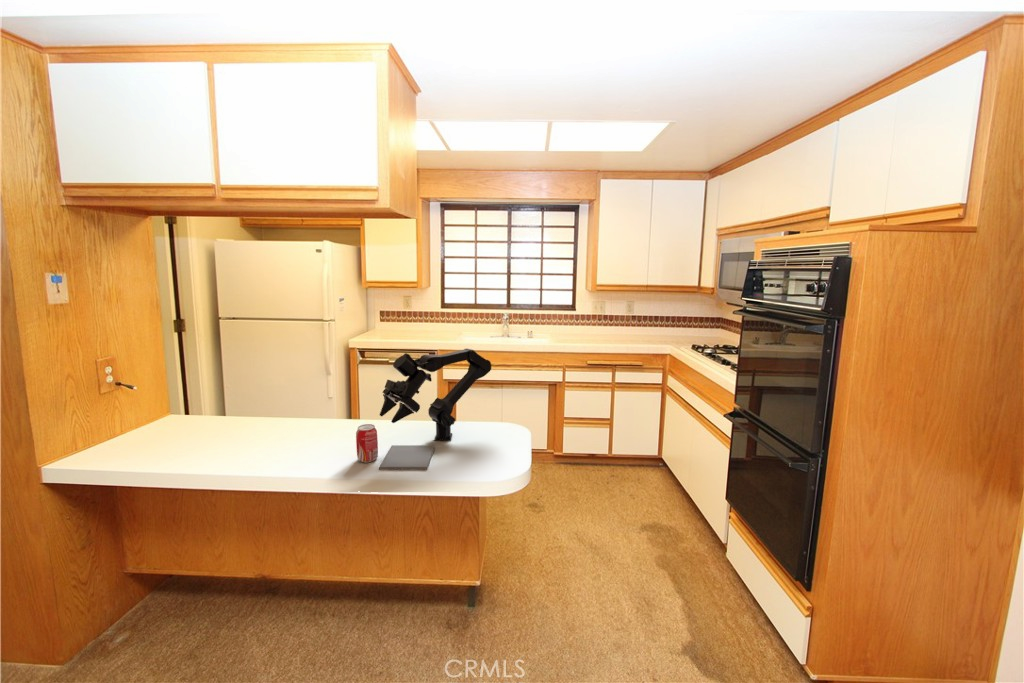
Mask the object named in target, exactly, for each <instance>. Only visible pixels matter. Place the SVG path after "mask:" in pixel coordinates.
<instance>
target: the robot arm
mask: <svg viewBox="0 0 1024 683" xmlns="http://www.w3.org/2000/svg"><path fill="white" fill-rule="evenodd" d="M465 361H467V363H468V364H469V365H468V369H467V372H466V373H465V374H464V375H463V377H461V379H460V380H459V381H458V382H457V383H456V384H455V385H454V386H453V388H452V389H451V390H450V391H449V392H448V393H447V394H446V395H445V397H442V398H439V397H436V398H435V399H434V401H433V402H432V403H430V404H429V405H430V406H429V408H428V410H427V411H428V416H429V418H431V420H432V422H435V436H434V438H433V441H451V440H452V439H453V438H452V437H453V433H452V429H451V427H452V426H453V425H455V421H456V418H455V417H453V415H452V413H453V410H454V407H455V405H456V404H457V403H458V401H459V400H461V398H462V397H463V396H464V395H465V394H466V392H467V391H469V389H470V388H471V387H472V386H473V385H474V384H475V382H476V381H477V380H479V379H482V378H484V377H485V376H487V374H489V373H490V372H491V371H492V362H491V360H489V359H486V358H485V357H483V356H481V355H480V354H478V353H477V352H476V351H475V350H474V349H472V348H464V349H460V350H457V351H452V352H448V353H443V354H422V355H420V357H419V358H416V359H414V358H413V357H411V355H410V354H409V353H406V352H405V353H403V355H401V356H399V357H397V358H396V359H395V360H394V362H393V364H392V366H393V368H394V369H395V370H397V371H398V373H400V374H401V376H403V377H407V378H406V379H405V380H401V381H400V380H396V381H395V380H391V379H387V380H386V382H385V386H384V389H383V390H382V396H383V400H384V401H383V405H382V407H381V409H380V412H379V416H380V417H383V416H385V415H386V414H387V413H389V412H390V411H391V410H392V409H393V408H395V407H396V406H397V405H399V407H398V410H397V411H396V413H395V414H394V416H393V417H392V419H391V421H390V422H391V423H392V424H395V423H397V422H399V421H401V420H403V419H404V418H406V417H408V416H410V415H412V414H415V413H418V412H419V410H421V405H420V404H419V403H418V402H417V401H416V400H415V399H413V397H415V395H416V394H417V395H419V393H420V391H419V390H420V388H421V387H422V385H423V384H424V383H425V382H426V381H427V382H432V381H433V380H432V374H431V373H434V372H436V371H439V370H441V369H442V368H443V367H445V366H447V365H452V364H457V363H461V362H465ZM424 370H425V371H424ZM426 371H427V372H429V373H427V372H426ZM397 403H399V404H397Z"/></svg>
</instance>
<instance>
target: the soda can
mask: <svg viewBox="0 0 1024 683" xmlns="http://www.w3.org/2000/svg"><path fill="white" fill-rule="evenodd" d="M355 440H356V441H355V444H356V445H355V446H356V457H357V460H358V461H360V462H361V463H367V464H368V463H372V462H375V460H377V459H378V457H379V448H378V447H379V444H378V440H379V439H378V431H377V429H376V426H375V425H374V424H372V423H371V424H370V423H366V424H365V423H364V424H361V425H359V426H358V427H357V431H356V432H355Z"/></svg>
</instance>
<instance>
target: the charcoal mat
mask: <svg viewBox="0 0 1024 683" xmlns="http://www.w3.org/2000/svg"><path fill="white" fill-rule="evenodd" d="M435 449H436V445H435V444H434V445H433V444H432V445H431V444H428V445H427V444H426V445H424V444H423V445H421V444H420V445H419V444H416V445H414V444H413V445H412V444H411V445H410V444H407V445H398V444H397V445H396V444H395V445H391V446H390V447H389V449H388V451H387V453H386V454H385V456H384V458H383V460H381V463H380V464H379V467H378V469H379V470H380V471H382V470H383V471H384V470H387V471H389V470H390V471H391V470H395V471H397V470H399V471H401V470H404V471H405V470H406V471H408V470H413V471H416V470H421V471H422V470H423V471H424V470H426V471H427V470H428V468H429V466H430V462H431V460H432V457H433V454H434V451H435Z"/></svg>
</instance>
